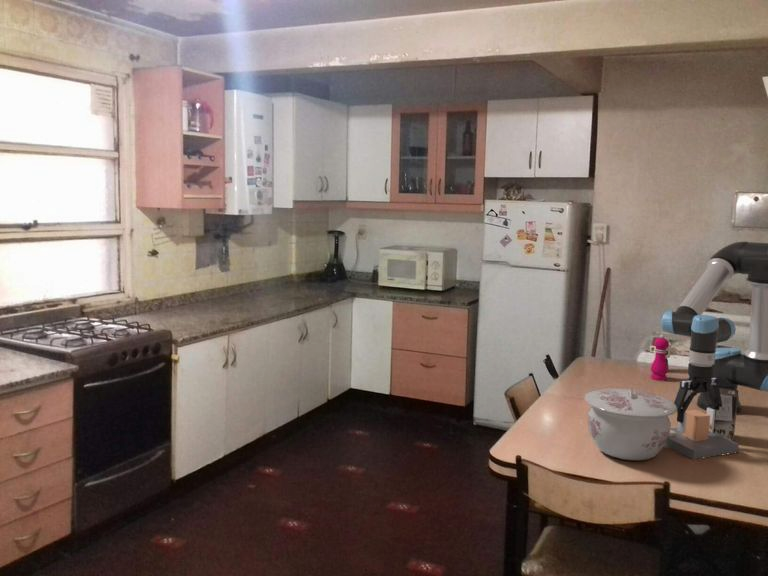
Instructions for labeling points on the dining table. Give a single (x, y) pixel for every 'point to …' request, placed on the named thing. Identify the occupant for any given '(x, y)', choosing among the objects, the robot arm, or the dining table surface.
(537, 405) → the dining table surface
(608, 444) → the chamber pot
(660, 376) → the pepper mill
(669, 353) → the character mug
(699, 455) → the socket plate
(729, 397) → the coffee box
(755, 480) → the dining table surface
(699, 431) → the tan rectangular block
